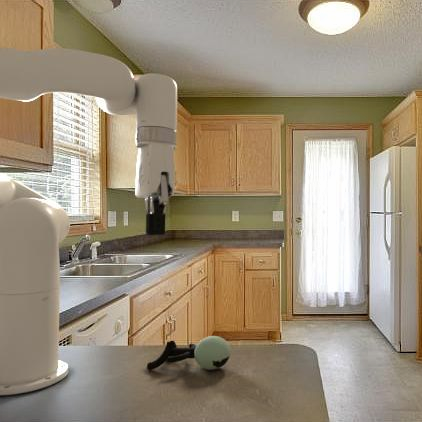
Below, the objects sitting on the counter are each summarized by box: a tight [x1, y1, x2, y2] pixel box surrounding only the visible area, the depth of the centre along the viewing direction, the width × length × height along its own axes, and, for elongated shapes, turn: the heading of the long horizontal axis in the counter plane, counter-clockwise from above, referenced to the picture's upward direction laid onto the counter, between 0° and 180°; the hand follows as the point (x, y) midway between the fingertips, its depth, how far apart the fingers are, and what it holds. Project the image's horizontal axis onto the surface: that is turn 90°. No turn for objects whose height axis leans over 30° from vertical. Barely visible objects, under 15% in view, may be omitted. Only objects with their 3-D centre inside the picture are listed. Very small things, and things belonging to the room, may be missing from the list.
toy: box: [146, 335, 231, 371], centre depth 73 cm, size 10×6×15 cm
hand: (155, 234), depth 74 cm, fingers closed
